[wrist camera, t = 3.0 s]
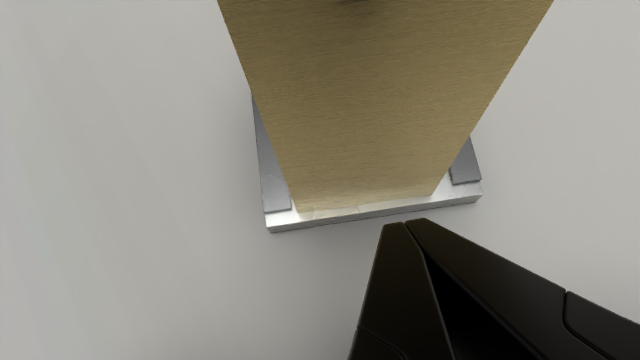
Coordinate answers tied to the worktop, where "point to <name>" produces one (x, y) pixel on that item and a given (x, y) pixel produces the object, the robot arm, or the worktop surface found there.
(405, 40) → the brass block
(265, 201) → the silver flat plate
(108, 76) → the worktop surface
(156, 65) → the worktop surface
